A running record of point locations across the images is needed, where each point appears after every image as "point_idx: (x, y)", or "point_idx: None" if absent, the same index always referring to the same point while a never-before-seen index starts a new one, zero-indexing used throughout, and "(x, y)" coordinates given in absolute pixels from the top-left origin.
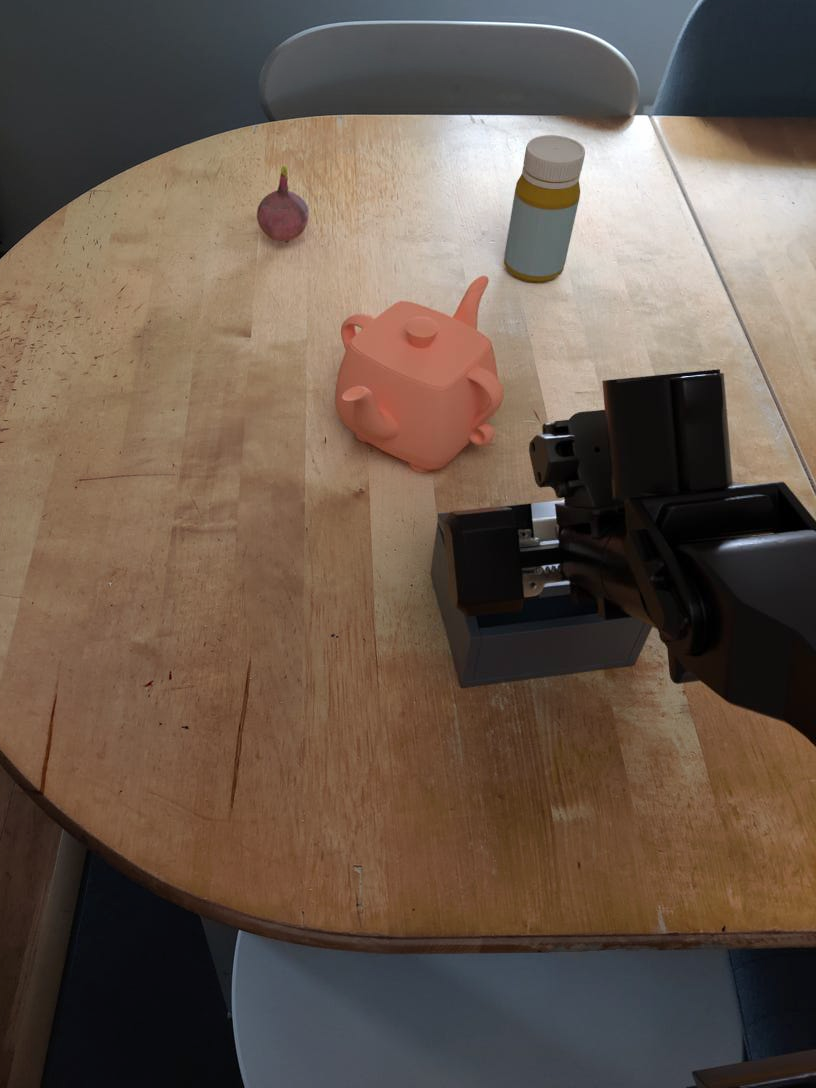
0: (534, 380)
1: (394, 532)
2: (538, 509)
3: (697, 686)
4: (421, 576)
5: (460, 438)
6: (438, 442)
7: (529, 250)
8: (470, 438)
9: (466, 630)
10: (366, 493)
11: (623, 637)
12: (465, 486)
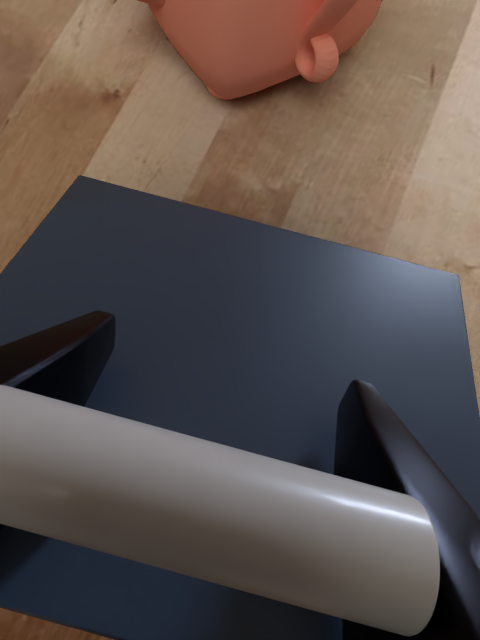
0: (463, 19)
1: (121, 175)
2: (286, 253)
3: None
4: None
5: (271, 49)
6: (218, 36)
7: None
8: (296, 60)
9: None
10: (121, 100)
11: None
12: (264, 144)
